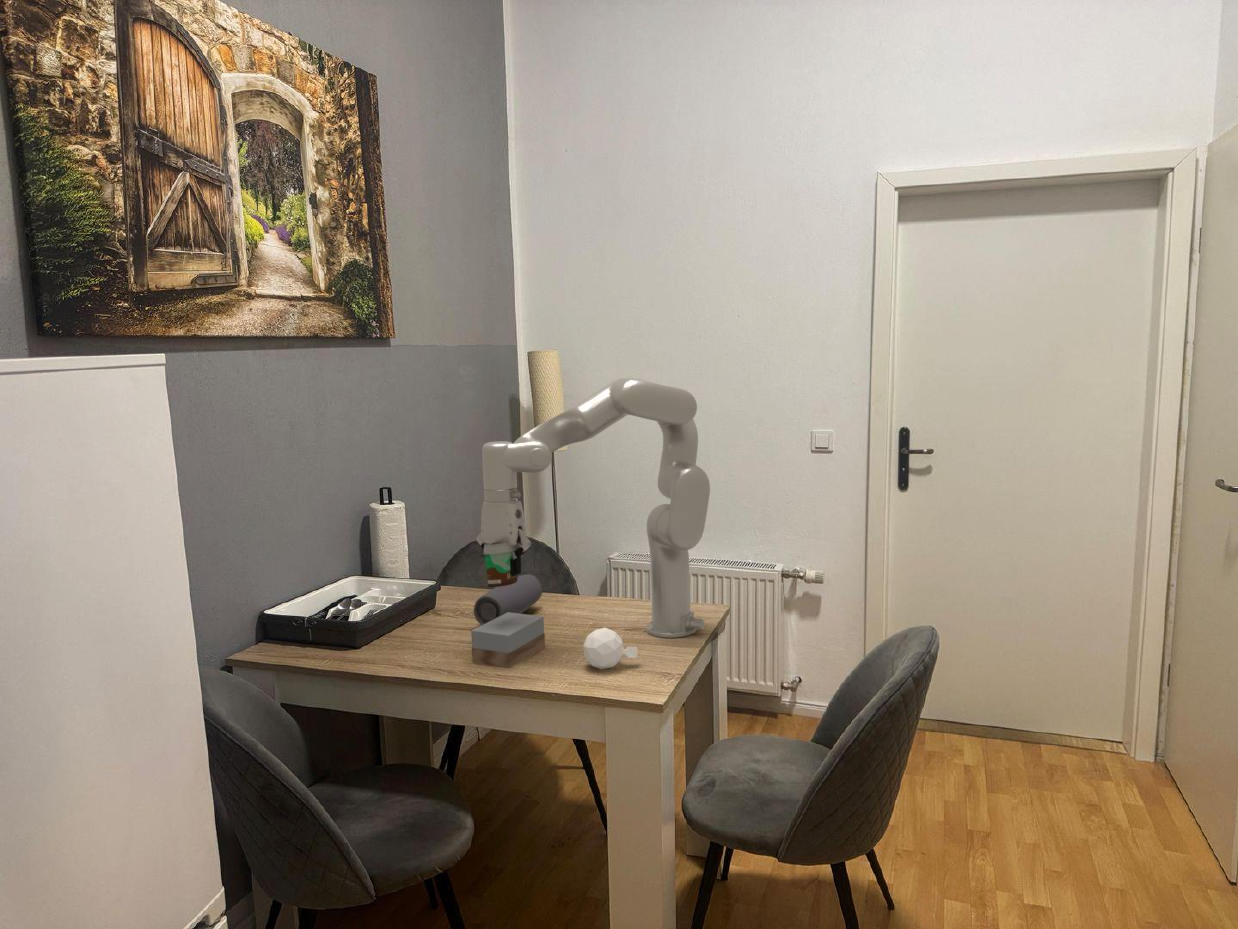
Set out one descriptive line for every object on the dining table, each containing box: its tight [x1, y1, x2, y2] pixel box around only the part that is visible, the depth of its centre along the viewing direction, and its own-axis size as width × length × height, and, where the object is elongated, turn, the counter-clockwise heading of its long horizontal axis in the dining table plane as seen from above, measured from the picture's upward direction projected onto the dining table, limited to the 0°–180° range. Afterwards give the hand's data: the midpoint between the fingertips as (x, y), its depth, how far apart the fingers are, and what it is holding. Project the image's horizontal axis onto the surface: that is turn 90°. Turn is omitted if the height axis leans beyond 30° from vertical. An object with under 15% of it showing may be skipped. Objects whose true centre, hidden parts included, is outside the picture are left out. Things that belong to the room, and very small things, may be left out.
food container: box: [483, 540, 522, 588], centre depth 197 cm, size 12×6×10 cm, turn 166°
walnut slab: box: [471, 632, 546, 669], centre depth 200 cm, size 10×15×4 cm, turn 152°
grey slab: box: [470, 612, 545, 653], centre depth 199 cm, size 10×15×4 cm, turn 154°
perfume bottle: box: [582, 627, 639, 670], centre depth 189 cm, size 9×9×12 cm
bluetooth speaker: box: [473, 574, 543, 626], centre depth 227 cm, size 23×9×10 cm, turn 159°
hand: (504, 572), depth 197 cm, fingers closed on food container, 5 cm apart
